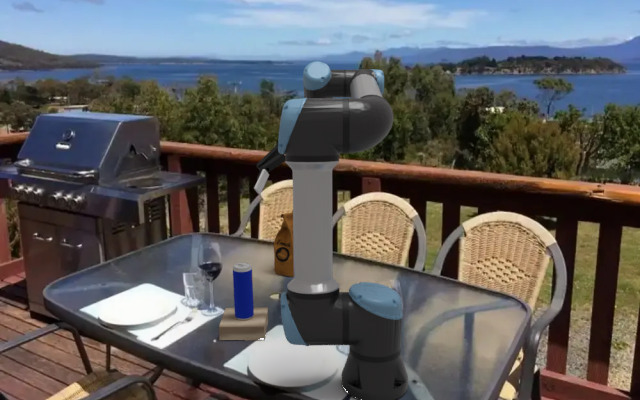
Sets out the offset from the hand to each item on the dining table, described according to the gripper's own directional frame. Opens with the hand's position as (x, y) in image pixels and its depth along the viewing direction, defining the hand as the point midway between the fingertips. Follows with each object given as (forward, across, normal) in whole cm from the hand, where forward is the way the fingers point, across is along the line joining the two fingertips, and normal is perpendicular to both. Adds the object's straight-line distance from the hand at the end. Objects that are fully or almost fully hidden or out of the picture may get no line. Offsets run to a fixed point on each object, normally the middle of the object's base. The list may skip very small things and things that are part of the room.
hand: (277, 194), depth 153 cm
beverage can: (+30, +6, -18) cm, 35 cm away
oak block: (+32, +6, -21) cm, 39 cm away
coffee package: (+1, +20, -53) cm, 57 cm away
